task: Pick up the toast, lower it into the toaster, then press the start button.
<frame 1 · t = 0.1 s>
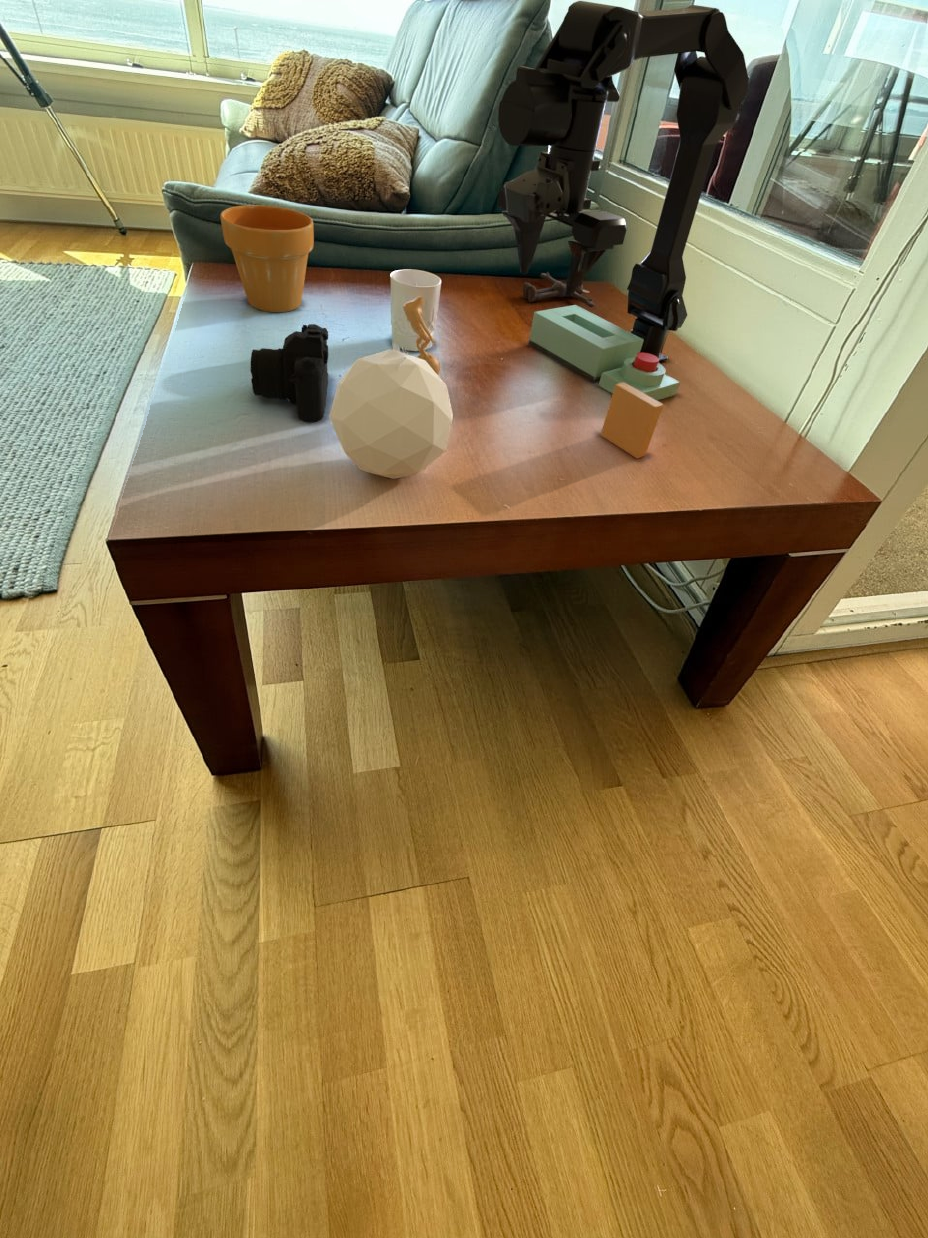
hand: (545, 284, 88), 15 cm above the table, tool pointing down, fingers open, 9 cm apart
start button: (645, 362, 98), point 4 cm above the table, slide at 0.1 cm
toast: (622, 445, 88), on the table
toaster: (580, 358, 108), on the table
figurine: (419, 382, 95), on the table
white cup: (412, 344, 104), on the table
control block: (636, 390, 102), on the table
brown humanoid figure: (554, 299, 129), on the table
geodesic sphere: (390, 468, 77), on the table
flower pot: (275, 304, 109), on the table
film camera: (294, 397, 87), on the table
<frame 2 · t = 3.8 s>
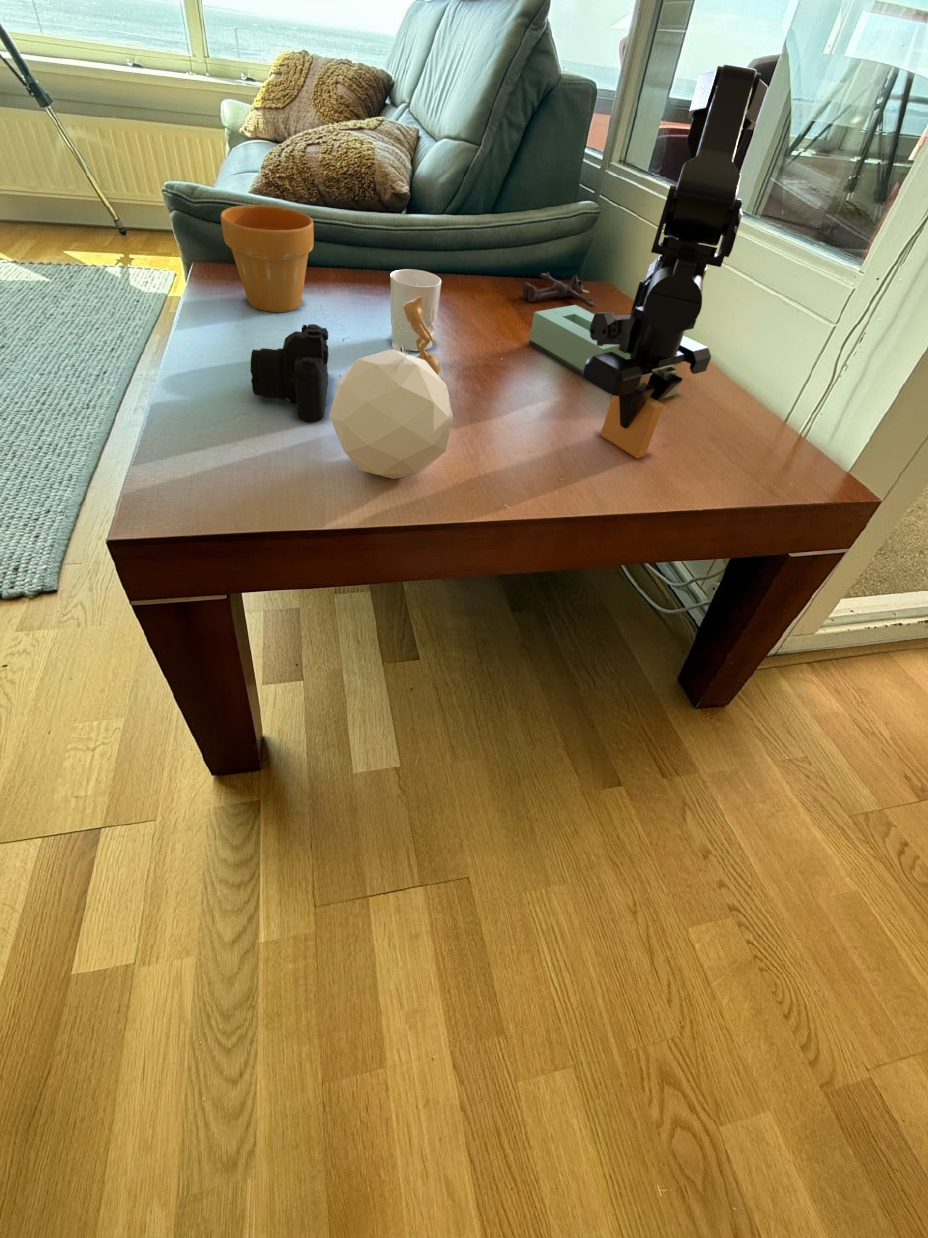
hand: (628, 425, 86), 3 cm above the table, tool pointing down, fingers closed on toast, 2 cm apart
toast: (622, 445, 88), on the table, touching gripper
everything else where it was.
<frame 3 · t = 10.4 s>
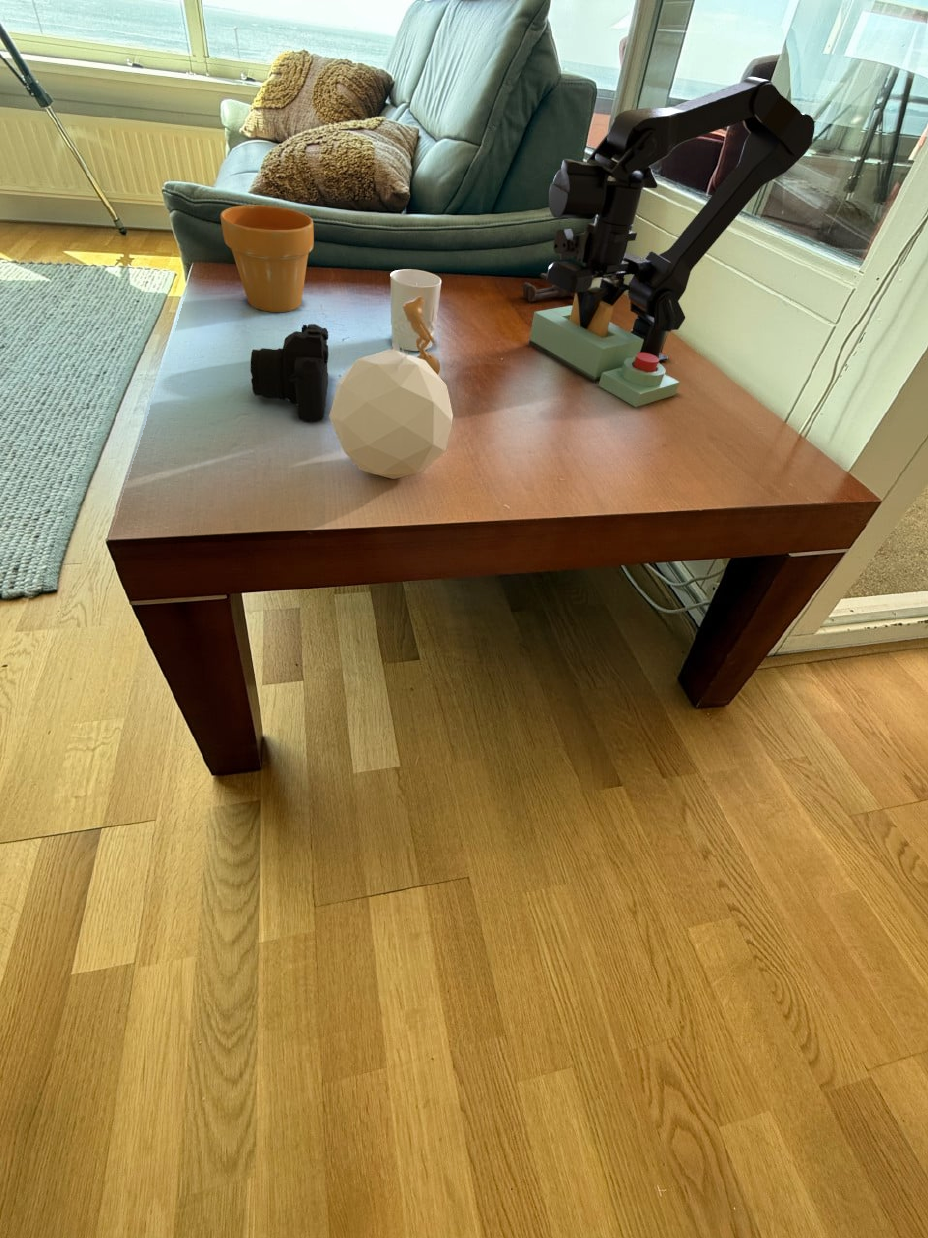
hand: (587, 328, 105), 5 cm above the table, tool pointing down, fingers closed on toast, 2 cm apart
toast: (582, 346, 107), point 2 cm above the table, touching gripper
everything else where it was.
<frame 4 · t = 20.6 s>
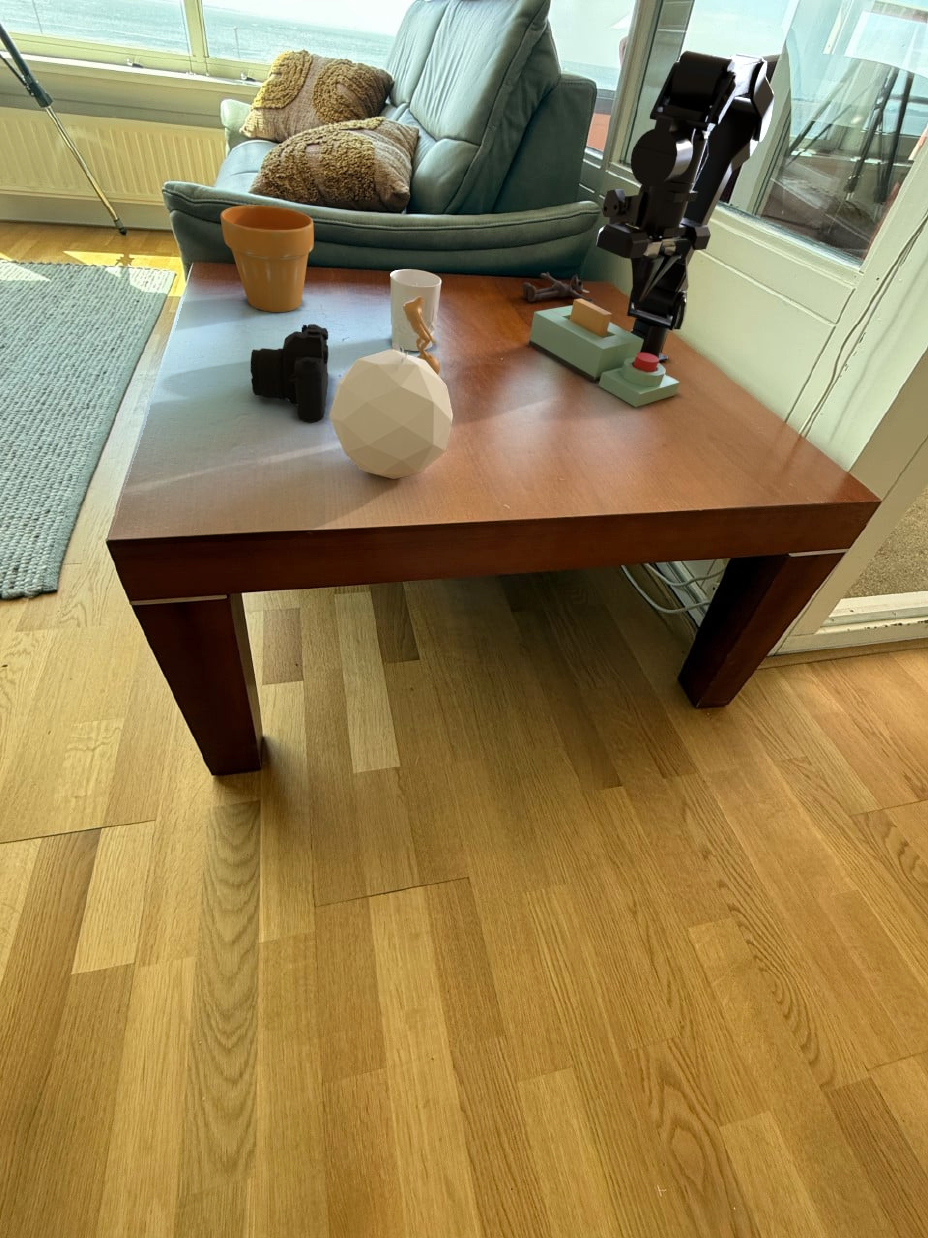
hand: (636, 300, 96), 12 cm above the table, tool pointing down, fingers closed
toast: (581, 352, 107), point 1 cm above the table, touching toaster
everything else where it was.
at the end: toast inside the target area on the toaster (0.0 cm from its centre), point 1.0 cm above the toaster's base; start button pushed in 1.2 cm at the most during the clip, back to where it started at the end; start button slide at 0.1 cm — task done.
